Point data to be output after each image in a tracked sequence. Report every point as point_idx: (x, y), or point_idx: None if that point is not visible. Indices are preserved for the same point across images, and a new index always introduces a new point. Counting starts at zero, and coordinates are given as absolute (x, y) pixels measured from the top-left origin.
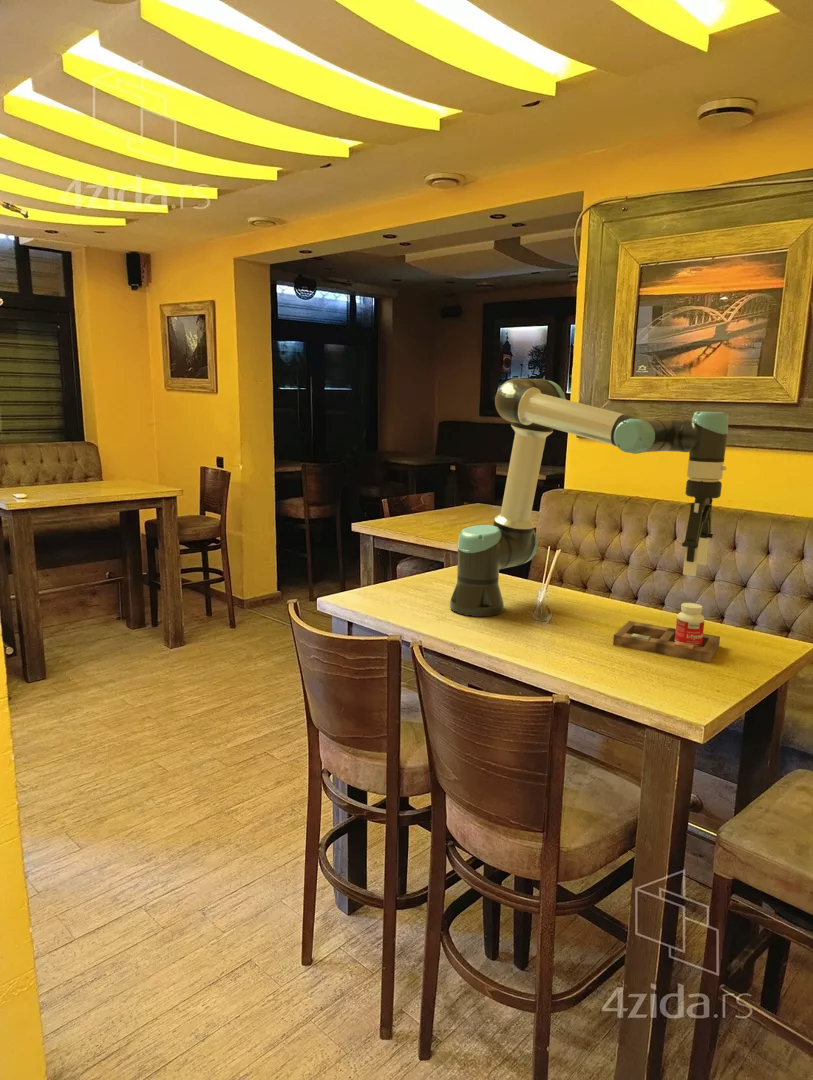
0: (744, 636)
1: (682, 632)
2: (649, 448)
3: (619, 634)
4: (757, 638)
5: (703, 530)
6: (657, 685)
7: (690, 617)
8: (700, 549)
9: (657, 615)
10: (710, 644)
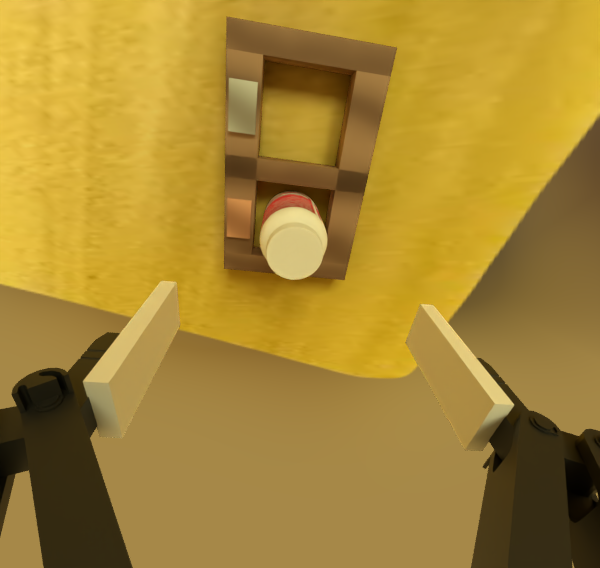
0: None
1: (264, 217)
2: None
3: (241, 36)
4: None
5: (495, 488)
6: (28, 178)
7: (264, 245)
8: (444, 369)
9: (548, 124)
10: None
